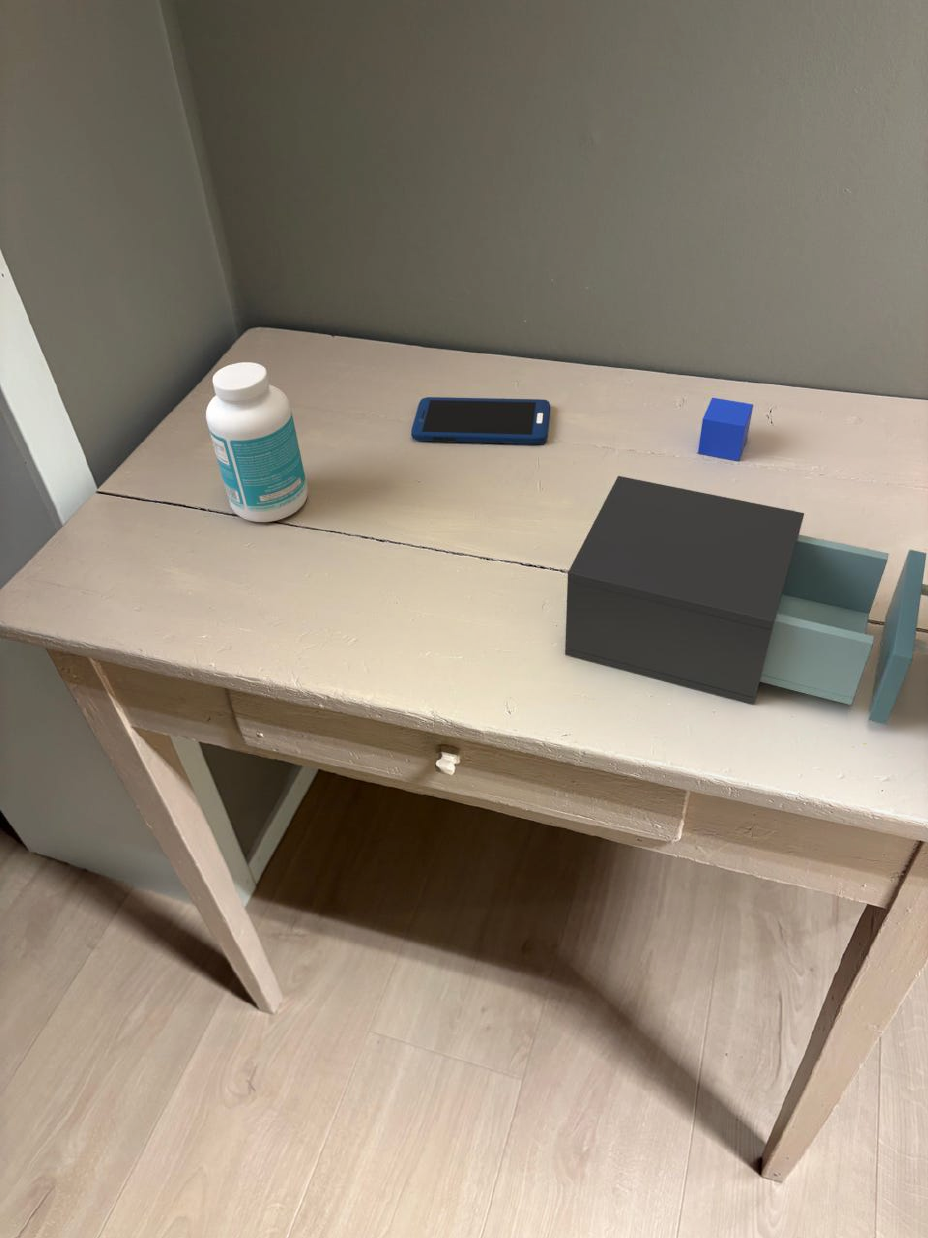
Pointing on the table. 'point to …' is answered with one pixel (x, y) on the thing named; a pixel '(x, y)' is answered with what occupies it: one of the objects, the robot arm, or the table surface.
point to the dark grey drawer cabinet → (680, 586)
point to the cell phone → (482, 420)
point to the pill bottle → (256, 444)
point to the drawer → (843, 624)
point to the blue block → (725, 429)
